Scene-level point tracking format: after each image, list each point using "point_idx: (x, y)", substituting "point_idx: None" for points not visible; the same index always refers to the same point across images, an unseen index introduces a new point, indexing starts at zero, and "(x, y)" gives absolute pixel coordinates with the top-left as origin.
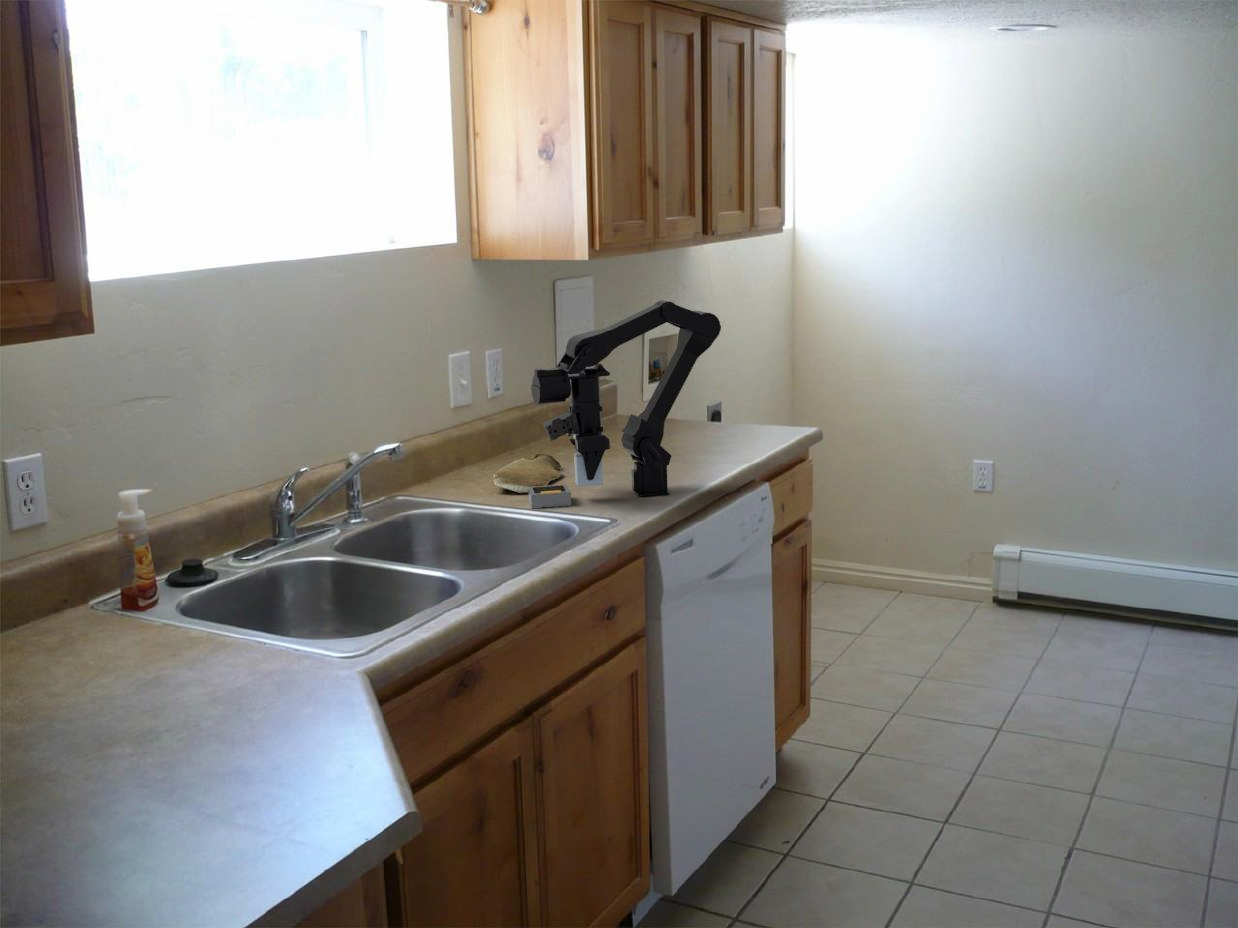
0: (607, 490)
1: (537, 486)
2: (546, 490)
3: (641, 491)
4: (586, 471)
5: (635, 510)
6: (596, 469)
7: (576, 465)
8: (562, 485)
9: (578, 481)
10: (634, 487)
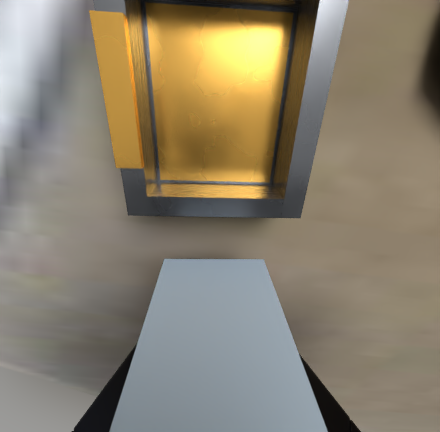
0: (311, 312)
1: (334, 31)
2: (293, 101)
3: None
4: (116, 372)
5: (64, 341)
6: None
7: (170, 371)
8: (284, 195)
9: (159, 280)
10: None
